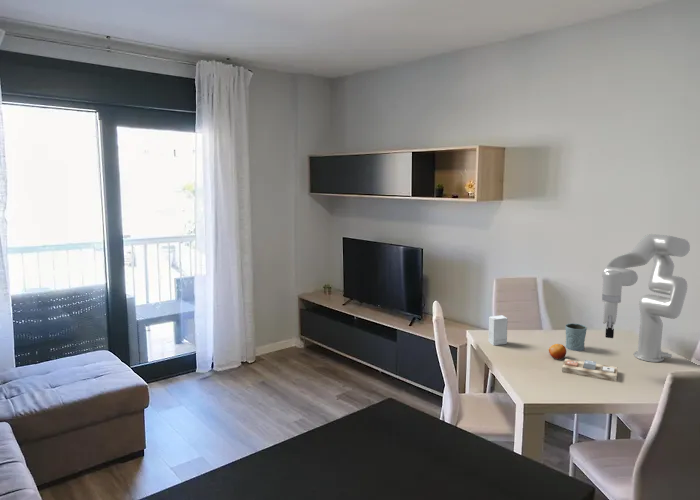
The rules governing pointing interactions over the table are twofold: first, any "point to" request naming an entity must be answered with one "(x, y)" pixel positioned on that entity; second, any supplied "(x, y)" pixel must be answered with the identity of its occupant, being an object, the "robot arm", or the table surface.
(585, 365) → the key
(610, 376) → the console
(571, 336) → the grey-blue cup
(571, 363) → the key
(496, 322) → the skincare box
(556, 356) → the fruit
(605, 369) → the key
